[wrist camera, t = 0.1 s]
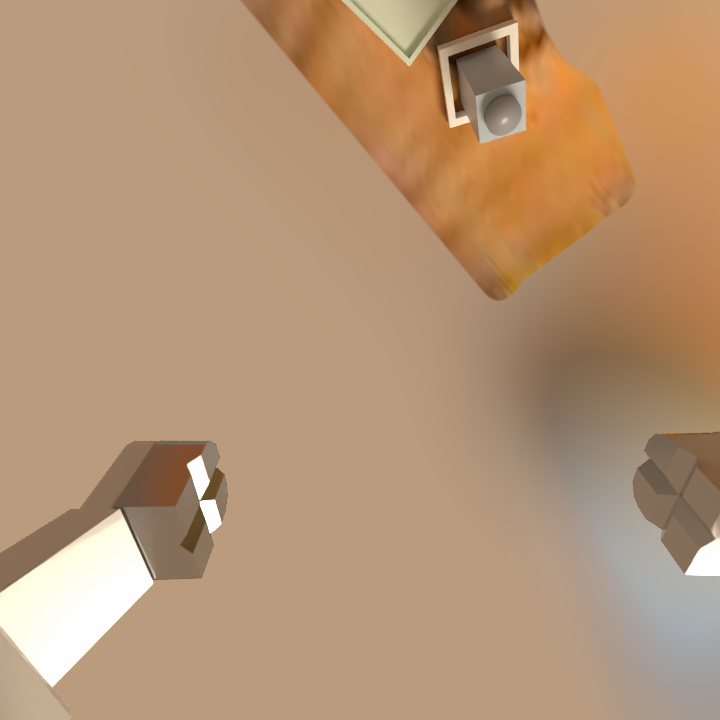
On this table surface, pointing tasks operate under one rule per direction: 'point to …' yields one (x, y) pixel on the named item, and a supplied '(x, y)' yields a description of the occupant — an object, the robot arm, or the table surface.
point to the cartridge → (492, 94)
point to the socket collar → (469, 42)
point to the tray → (403, 22)
